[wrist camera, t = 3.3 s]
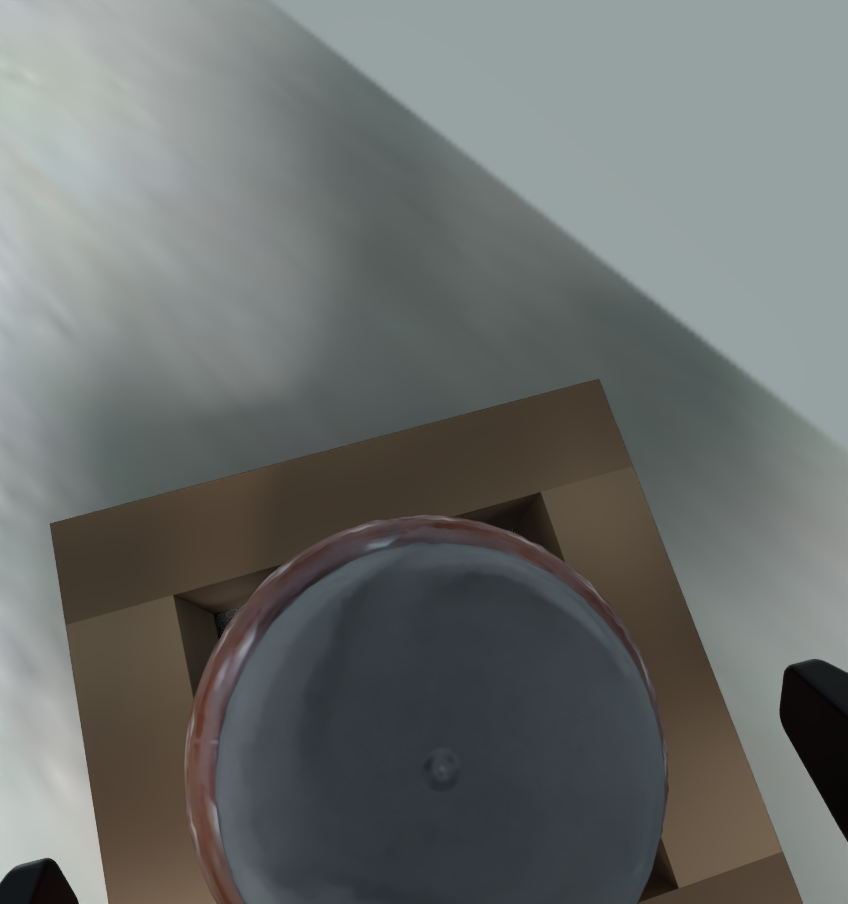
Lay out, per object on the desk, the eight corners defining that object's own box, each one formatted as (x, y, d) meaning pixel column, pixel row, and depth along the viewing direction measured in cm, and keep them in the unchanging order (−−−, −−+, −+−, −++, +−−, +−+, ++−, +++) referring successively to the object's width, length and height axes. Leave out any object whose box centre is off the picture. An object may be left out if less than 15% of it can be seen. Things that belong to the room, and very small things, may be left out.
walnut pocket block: (742, 920, 16) (831, 977, 13) (210, 1115, 15) (159, 1233, 12) (563, 433, 20) (598, 378, 16) (112, 556, 18) (49, 523, 15)
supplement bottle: (563, 855, 17) (878, 1140, 6) (287, 897, 16) (82, 1288, 5) (519, 580, 18) (699, 414, 8) (269, 610, 18) (87, 479, 7)
